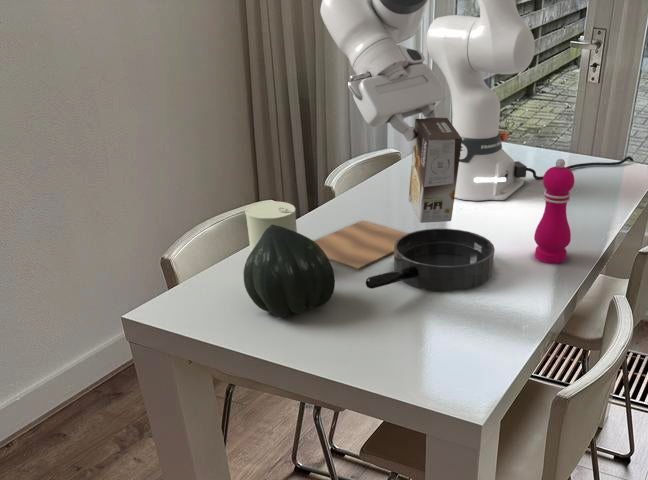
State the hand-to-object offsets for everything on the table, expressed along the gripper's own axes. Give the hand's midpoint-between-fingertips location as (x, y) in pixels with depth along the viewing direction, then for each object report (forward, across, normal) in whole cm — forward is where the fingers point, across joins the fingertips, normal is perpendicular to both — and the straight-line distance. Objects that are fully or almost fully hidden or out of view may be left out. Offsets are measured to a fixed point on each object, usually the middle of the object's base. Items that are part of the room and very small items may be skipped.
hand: (426, 134), depth 138 cm
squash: (+13, -29, +23) cm, 39 cm away
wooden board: (+6, 0, +29) cm, 30 cm away
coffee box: (+11, 0, +9) cm, 14 cm away
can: (+3, -19, +33) cm, 38 cm away
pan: (+21, 0, +14) cm, 25 cm away
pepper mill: (+30, +19, +5) cm, 36 cm away
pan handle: (+20, -16, +13) cm, 28 cm away
